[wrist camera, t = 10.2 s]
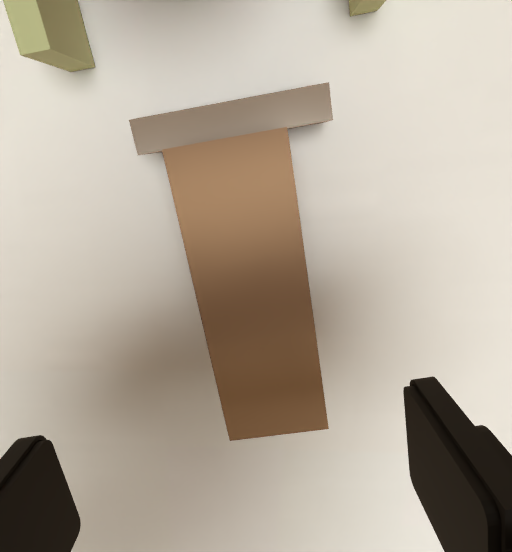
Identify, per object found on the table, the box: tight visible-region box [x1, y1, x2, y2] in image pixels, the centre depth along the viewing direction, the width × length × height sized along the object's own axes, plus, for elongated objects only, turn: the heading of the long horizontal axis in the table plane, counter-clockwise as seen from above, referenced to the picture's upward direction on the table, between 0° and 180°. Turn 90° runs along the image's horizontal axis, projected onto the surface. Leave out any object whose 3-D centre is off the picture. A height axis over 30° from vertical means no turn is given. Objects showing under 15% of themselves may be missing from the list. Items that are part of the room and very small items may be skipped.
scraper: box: [129, 82, 333, 441], centre depth 15 cm, size 11×7×6 cm, turn 10°
